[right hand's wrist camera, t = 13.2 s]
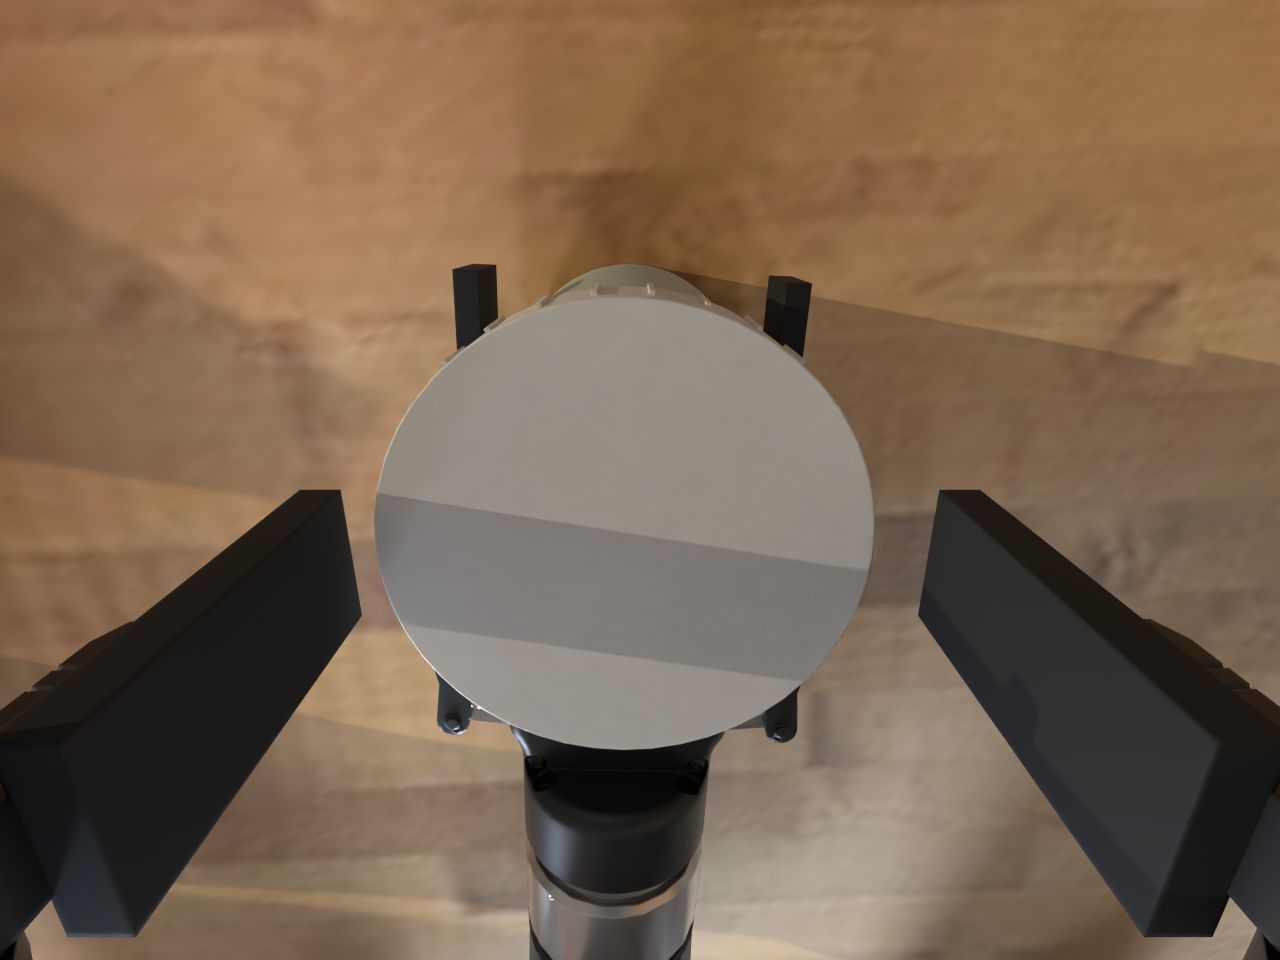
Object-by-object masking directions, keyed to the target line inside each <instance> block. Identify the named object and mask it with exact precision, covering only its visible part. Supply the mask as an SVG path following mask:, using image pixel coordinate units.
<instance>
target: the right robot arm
mask: <svg viewBox="0 0 1280 960" xmlns="http://www.w3.org/2000/svg"><path fill="white" fill-rule="evenodd" d="M361 616H362V613H361V607H360V601H359V595H358V590H357V584H356V578H355V572H354V566H353V560H352V554H351V548H350V543H349V537H348V531H347V525H346V519H345V513H344V507H343V501H342V496H341V490H299V491H298V492H297V493H295V494H294V495H293V496H292V497H290V498H289V499H288V500H287V501H285V502H284V503H283V504H282V505H280V506H279V507H278V508H277V509H275V510H274V511H273V512H272V513H270V514H269V515H268V516H266V517H265V518H264V519H263V520H261V521H260V522H259V523H258V524H256V525H255V526H254V527H253V528H251V529H250V530H249V531H248V532H246V533H245V534H244V535H243V536H241V537H240V538H239V539H237V540H236V541H235V542H234V543H232V544H231V545H230V546H229V547H227V548H226V549H225V550H224V551H222V552H221V553H220V554H219V555H217V556H216V557H215V558H214V559H212V560H211V561H210V562H209V563H207V564H206V565H205V566H203V567H202V568H201V569H200V570H198V571H197V572H196V573H195V574H193V575H192V576H191V577H190V578H188V579H187V580H186V581H185V582H183V583H182V584H181V585H180V586H178V587H177V588H176V589H175V590H173V591H172V592H171V593H169V594H168V595H167V596H166V597H164V598H163V599H162V600H161V601H159V602H158V603H157V604H156V605H154V606H153V607H152V608H151V609H149V610H148V611H147V612H146V613H144V614H143V615H142V616H141V617H139V618H138V619H137V620H135V621H134V622H129V623H127V624H125V625H123V626H121V627H119V628H117V629H115V630H113V631H111V632H109V633H107V634H105V635H103V636H101V637H99V638H97V639H95V640H93V641H91V642H89V643H88V644H86V645H85V646H84V647H83V648H81V649H80V650H79V651H77V652H76V653H75V654H73V655H72V656H71V657H70V658H68V659H67V660H66V661H64V662H63V663H62V664H60V665H59V666H58V670H57V671H51V672H50V673H49V674H47V675H46V676H45V677H43V678H42V679H41V680H40V681H38V682H37V683H36V684H34V685H33V686H32V690H31V691H30V692H24V693H23V694H21V695H20V696H19V697H17V698H16V699H15V700H13V701H12V702H11V703H10V704H8V705H7V706H6V707H4V708H3V709H2V710H0V960H32V954H31V948H30V943H29V941H28V939H27V937H26V935H25V933H24V930H25V929H26V928H27V927H28V925H29V924H30V923H31V922H32V921H33V920H34V919H35V917H36V916H37V915H38V914H39V913H40V912H41V910H42V909H43V908H44V907H45V906H46V905H47V904H48V902H49V901H50V900H52V902H53V904H54V907H55V909H56V911H57V914H58V916H59V918H60V920H61V923H62V925H63V927H64V930H65V932H66V934H67V937H136V936H137V935H138V933H139V932H140V930H141V929H142V928H143V926H144V925H145V923H146V922H147V920H148V919H149V918H150V916H151V915H152V913H153V912H154V910H155V909H156V908H157V906H158V905H159V903H160V902H161V900H162V899H163V898H164V896H165V895H166V893H167V892H168V891H169V889H170V888H171V886H172V885H173V883H174V882H175V881H176V879H177V878H178V876H179V875H180V873H181V872H182V871H183V869H184V868H185V866H186V865H187V864H188V862H189V861H190V859H191V858H192V856H193V855H194V854H195V852H196V851H197V849H198V848H199V846H200V845H201V844H202V842H203V841H204V839H205V838H206V836H207V835H208V834H209V832H210V831H211V829H212V828H213V827H214V825H215V824H216V822H217V821H218V819H219V818H220V817H221V815H222V814H223V812H224V811H225V809H226V808H227V807H228V805H229V804H230V802H231V801H232V800H233V798H234V797H235V795H236V794H237V792H238V791H239V790H240V788H241V787H242V785H243V784H244V782H245V781H246V780H247V778H248V777H249V775H250V774H251V772H252V771H253V770H254V768H255V767H256V765H257V764H258V763H259V761H260V760H261V758H262V757H263V755H264V754H265V753H266V751H267V750H268V748H269V747H270V745H271V744H272V743H273V741H274V740H275V738H276V737H277V736H278V734H279V733H280V731H281V730H282V728H283V727H284V726H285V724H286V723H287V721H288V720H289V718H290V717H291V716H292V714H293V713H294V711H295V710H296V708H297V707H298V706H299V704H300V703H301V701H302V700H303V699H304V697H305V696H306V694H307V693H308V691H309V690H310V689H311V687H312V686H313V684H314V683H315V681H316V680H317V679H318V677H319V676H320V674H321V673H322V672H323V670H324V669H325V667H326V666H327V664H328V663H329V662H330V660H331V659H332V657H333V656H334V654H335V653H336V652H337V650H338V649H339V647H340V646H341V644H342V643H343V642H344V640H345V639H346V637H347V636H348V635H349V633H350V632H351V630H352V629H353V627H354V626H355V625H356V623H357V622H358V620H359V619H360V617H361ZM918 616H919V617H920V619H921V620H922V622H923V623H924V625H925V626H926V627H927V629H928V630H929V632H930V633H931V635H932V636H933V637H934V639H935V640H936V642H937V643H938V644H939V646H940V647H941V649H942V650H943V652H944V653H945V654H946V656H947V657H948V659H949V660H950V662H951V663H952V664H953V666H954V667H955V669H956V670H957V672H958V673H959V674H960V676H961V677H962V679H963V680H964V681H965V683H966V684H967V686H968V687H969V689H970V690H971V691H972V693H973V694H974V696H975V697H976V699H977V700H978V701H979V703H980V704H981V706H982V707H983V708H984V710H985V711H986V713H987V714H988V716H989V717H990V718H991V720H992V721H993V723H994V724H995V726H996V727H997V728H998V730H999V731H1000V733H1001V734H1002V736H1003V737H1004V738H1005V740H1006V741H1007V743H1008V744H1009V745H1010V747H1011V748H1012V750H1013V751H1014V753H1015V754H1016V755H1017V757H1018V758H1019V760H1020V761H1021V763H1022V764H1023V765H1024V767H1025V768H1026V770H1027V771H1028V772H1029V774H1030V775H1031V777H1032V778H1033V780H1034V781H1035V782H1036V784H1037V785H1038V787H1039V788H1040V790H1041V791H1042V792H1043V794H1044V795H1045V797H1046V798H1047V800H1048V801H1049V802H1050V804H1051V805H1052V807H1053V808H1054V809H1055V811H1056V812H1057V814H1058V815H1059V817H1060V818H1061V819H1062V821H1063V822H1064V824H1065V825H1066V827H1067V828H1068V829H1069V831H1070V832H1071V834H1072V835H1073V836H1074V838H1075V839H1076V841H1077V842H1078V844H1079V845H1080V846H1081V848H1082V849H1083V851H1084V852H1085V854H1086V855H1087V856H1088V858H1089V859H1090V861H1091V862H1092V864H1093V865H1094V866H1095V868H1096V869H1097V871H1098V872H1099V873H1100V875H1101V876H1102V878H1103V879H1104V881H1105V882H1106V883H1107V885H1108V886H1109V888H1110V889H1111V891H1112V892H1113V893H1114V895H1115V896H1116V898H1117V899H1118V900H1119V902H1120V903H1121V905H1122V906H1123V908H1124V909H1125V910H1126V912H1127V913H1128V915H1129V916H1130V918H1131V919H1132V920H1133V922H1134V923H1135V925H1136V926H1137V928H1138V929H1139V930H1140V932H1141V933H1142V935H1143V936H1144V937H1213V934H1214V932H1215V930H1216V927H1217V925H1218V923H1219V920H1220V918H1221V916H1222V914H1223V911H1224V909H1225V907H1226V904H1227V902H1228V900H1229V898H1230V897H1231V898H1232V899H1233V901H1234V902H1235V903H1236V904H1237V905H1238V906H1239V907H1240V909H1241V910H1242V911H1243V912H1244V913H1245V914H1246V916H1247V917H1248V918H1249V919H1250V920H1251V921H1252V922H1253V924H1254V925H1255V926H1256V927H1257V930H1256V933H1255V935H1254V937H1253V939H1252V941H1251V943H1250V945H1249V947H1248V950H1247V952H1246V954H1245V956H1244V958H1243V960H1280V707H1279V706H1278V705H1277V704H1275V703H1274V702H1273V701H1271V700H1270V699H1269V698H1267V697H1266V696H1265V695H1263V694H1262V693H1261V692H1259V691H1258V690H1257V689H1250V687H1249V683H1248V682H1246V681H1245V680H1244V679H1242V678H1241V677H1240V676H1238V675H1237V674H1236V673H1235V672H1233V671H1232V670H1231V669H1229V668H1223V666H1222V665H1223V663H1221V662H1220V661H1219V660H1217V659H1216V658H1215V657H1213V656H1212V655H1211V654H1210V653H1208V652H1207V651H1206V650H1204V649H1203V648H1202V647H1200V646H1199V645H1198V644H1196V643H1195V642H1194V641H1192V640H1191V639H1189V638H1187V637H1185V636H1183V635H1181V634H1179V633H1177V632H1175V631H1173V630H1171V629H1169V628H1167V627H1165V626H1163V625H1161V624H1159V623H1157V622H1155V621H1153V620H1151V619H1142V618H1141V617H1139V616H1138V615H1137V614H1136V613H1134V612H1133V611H1132V610H1131V609H1129V608H1128V607H1127V606H1126V605H1124V604H1123V603H1122V602H1121V601H1119V600H1118V599H1117V598H1116V597H1114V596H1113V595H1112V594H1111V593H1109V592H1108V591H1107V590H1105V589H1104V588H1103V587H1102V586H1100V585H1099V584H1098V583H1097V582H1095V581H1094V580H1093V579H1092V578H1090V577H1089V576H1088V575H1087V574H1085V573H1084V572H1083V571H1082V570H1080V569H1079V568H1078V567H1077V566H1075V565H1074V564H1073V563H1071V562H1070V561H1069V560H1068V559H1066V558H1065V557H1064V556H1063V555H1061V554H1060V553H1059V552H1058V551H1056V550H1055V549H1054V548H1053V547H1051V546H1050V545H1049V544H1048V543H1046V542H1045V541H1044V540H1043V539H1041V538H1040V537H1039V536H1037V535H1036V534H1035V533H1034V532H1032V531H1031V530H1030V529H1029V528H1027V527H1026V526H1025V525H1024V524H1022V523H1021V522H1020V521H1019V520H1017V519H1016V518H1015V517H1014V516H1012V515H1011V514H1010V513H1008V512H1007V511H1006V510H1005V509H1003V508H1002V507H1001V506H1000V505H998V504H997V503H996V502H995V501H993V500H992V499H991V498H990V497H988V496H987V495H986V494H985V493H983V492H982V491H981V490H939V496H938V501H937V507H936V513H935V519H934V525H933V531H932V537H931V543H930V548H929V554H928V560H927V566H926V572H925V578H924V584H923V590H922V595H921V601H920V607H919V613H918Z"/></svg>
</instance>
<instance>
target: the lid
mask: <svg viewBox="0 0 1280 960" xmlns="http://www.w3.org/2000/svg"><path fill="white" fill-rule="evenodd" d="M762 330H763V327H762V326H760V325H759V324H758V323H757V322H755V321H754V320H753V319H752V318H751V317H749V316H748V315H745V316H744V318H742V317H740V316H738V315H737V314H735V313H733V312H731V311H729V310H727V309H726V308H724V307H721V306H719V305H716V304H714V303H711V302H710V301H709V300H708V299H707V298H706V297H705V296H704V295H702V294H698V297H695V296H692V295H687V294H683V293H679V292H674V291H670V290H666V289H659V288H654V285H653V283H648V285H647V287H637V286H618V287H601V283H597V284H595V285H594V287H593V288H592V289H587V290H582V291H576V292H571V293H566V294H563V295H560V296H557V297H554V298H551V297H550V294H548V295H546V296H544V297H543V298H542V299H541V300H539V301H538V302H537V303H536V304H534V305H532V306H530V307H528V308H526V309H524V310H522V311H520V312H518V313H516V314H514V315H512V316H510V317H508V318H506V319H505V318H504V316H501V317H500V318H498V319H497V320H496V321H494V322H493V323H491V324H490V325H489V326H487V327H486V328H485V329H484V331H485V333H484V334H483V335H482V336H480V337H479V338H478V339H476V340H475V341H474V342H472V343H471V344H470V345H469V346H467V347H466V348H465V347H464V346H463V347H461V348H460V349H459V350H457V351H456V352H455V353H453V354H452V355H451V356H449V357H448V358H447V359H445V360H444V361H443V362H442V363H441V365H442V366H443V368H442V369H441V370H440V371H439V372H437V373H436V374H435V375H434V376H433V378H432V379H431V380H430V381H429V383H428V384H427V385H426V386H425V387H424V389H423V390H422V391H421V392H420V394H419V395H418V396H417V397H416V398H414V399H413V400H412V401H411V402H410V404H409V406H410V408H409V409H408V411H407V413H406V414H405V416H404V418H403V419H402V421H401V423H400V424H399V426H398V428H397V429H396V432H395V434H394V437H393V439H392V442H391V444H390V446H389V449H388V451H387V454H386V456H385V459H384V463H383V467H382V471H381V475H380V479H379V483H378V487H377V496H376V507H375V518H374V520H375V538H376V551H377V556H378V561H379V566H380V571H381V576H382V579H383V582H384V585H385V588H386V591H387V594H388V596H389V599H390V602H391V605H392V607H393V609H394V611H395V613H396V615H397V617H398V619H399V621H400V623H401V625H402V626H403V628H404V630H405V632H406V633H407V635H408V636H409V638H410V639H411V641H412V642H413V644H414V645H415V646H416V648H417V649H418V651H419V652H420V654H421V655H422V656H423V657H424V658H425V659H426V661H427V662H428V663H429V664H430V665H431V666H432V667H433V668H434V670H435V671H436V672H437V673H438V674H439V675H440V676H441V677H442V678H443V679H444V680H445V681H447V682H448V683H449V684H450V685H451V686H452V687H453V688H455V689H456V690H457V691H458V692H459V693H460V694H461V695H463V696H464V697H466V698H467V699H469V700H470V701H471V702H473V703H474V704H476V705H477V706H479V707H480V708H482V709H483V710H485V711H486V712H488V713H490V714H492V715H494V716H495V717H497V718H499V719H501V720H503V721H505V722H507V723H509V724H511V725H513V726H515V727H518V728H520V729H523V730H525V731H528V732H530V733H533V734H535V735H538V736H542V737H545V738H549V739H552V740H556V741H560V742H563V743H567V744H573V745H579V746H585V747H591V748H603V749H619V750H628V749H652V748H658V747H665V746H672V745H679V744H683V743H687V742H691V741H695V740H699V739H703V738H706V737H709V736H712V735H715V734H717V733H720V732H723V731H726V730H728V729H731V728H734V727H736V726H738V725H740V724H742V723H744V722H746V721H748V720H750V719H752V718H754V717H756V716H758V715H760V714H761V713H763V712H764V711H766V710H767V709H769V708H770V707H772V706H773V705H775V704H776V703H778V702H779V701H781V700H783V699H784V698H785V697H786V696H788V695H789V694H790V693H791V692H792V691H794V690H795V689H796V688H797V687H798V686H800V685H801V684H802V683H803V682H804V681H806V679H807V678H808V677H809V676H810V675H811V674H812V673H813V672H814V671H815V670H816V669H817V668H818V667H819V666H820V665H821V664H822V663H823V661H824V660H825V659H826V658H827V656H828V655H829V654H830V652H831V651H832V650H833V648H834V647H835V646H836V644H837V643H838V641H839V640H840V639H841V637H842V636H843V634H844V632H845V630H846V628H847V627H848V625H849V623H850V621H851V619H852V617H853V616H854V614H855V612H856V609H857V607H858V604H859V602H860V599H861V597H862V594H863V591H864V589H865V586H866V583H867V578H868V574H869V570H870V566H871V561H872V557H873V547H874V536H875V512H874V496H873V491H872V486H871V481H870V477H869V472H868V467H867V464H866V461H865V459H864V456H863V453H862V451H861V447H860V444H859V442H858V440H857V437H856V435H855V433H854V432H853V430H852V428H851V426H850V424H849V422H848V421H847V419H846V417H845V415H844V413H843V411H842V410H841V408H840V407H839V405H838V403H839V401H838V400H837V398H836V397H834V396H833V395H832V394H831V393H830V392H829V391H827V390H826V388H825V387H824V386H823V384H822V383H821V382H820V381H819V380H818V379H817V378H816V377H815V376H814V375H813V374H812V373H811V372H810V371H809V370H808V369H807V368H806V367H805V366H804V364H805V363H806V361H805V360H804V359H803V358H802V357H801V356H800V355H798V354H797V353H796V352H795V351H793V350H792V349H791V348H790V347H788V346H787V345H786V344H785V345H784V346H783V347H782V346H781V345H780V344H779V343H778V342H776V341H775V340H774V339H773V338H771V337H770V336H769V335H767V334H766V333H765V332H763V331H762Z"/></svg>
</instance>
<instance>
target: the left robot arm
mask: <svg viewBox="0 0 1280 960" xmlns="http://www.w3.org/2000/svg"><path fill="white" fill-rule="evenodd" d="M453 287H454V304H455V321H456V339H457V350H459V349H460V348H461V347H463V346H464V347H465V348H466V347H467V346H469V345H470V344H471V343H472V342H474V341H475V340H476V339H478V338H479V337H480V336H482V335H483V334H484V333H485V331H484V329H485V328H486V327H487V326H489V325H490V324H491V323H493V322H494V321H496V320H497V319H498V305H497V277H496V265H487V264H471V265H467V266H463V267H460V268H456V269H453ZM811 287H812V283H809V282H806V281H803V280H800V279H797V278H794V277H790V276H769V281H768V290H767V300H766V310H765V319H764V329H763V332H765V333H766V334H767V335H769V336H770V337H771V338H773V339H774V340H775V341H776V342H778V343H779V344H780V345H781V346H782V347H783V346H784V345H785V344H786V345H787V346H788V347H790V348H791V349H792V350H793V351H795V352H796V353H797V354H798V355H800V356H801V357H802V358H803V351H804V343H805V335H806V327H807V319H808V311H809V303H810V295H811ZM435 672H436V671H435ZM436 675H437V678H438V681H439V684H440V685H439V700H438V714H437V722H438V726H439V727H440V729H441V730H442V731H444V732H445V733H448V734H452V735H456V734H461V733H463V732H465V731H466V730H467V729H468V726H469V723H470V720H478V721H487V722H495V723H503V724H509V723H507V722H505V721H503V720H501V719H499V718H497V717H495V716H494V715H492V714H490V713H488V712H486V711H485V710H483V709H482V708H480V707H479V706H477V705H476V704H474V703H473V702H471V701H470V700H469V699H467V698H466V697H464V696H463V695H461V694H460V693H459V692H458V691H457V690H456V689H455V688H453V687H452V686H451V685H450V684H449V683H448V682H447V681H445V680H444V679H443V678H442V677H441V676H440V675H439V674H438V673H437V672H436ZM799 688H800V686H798V687H797V688H796V689H795V690H794V691H792V692H791V693H790V694H789V695H788V696H786V697H785V698H784V699H783V700H781V701H779V702H778V703H776V704H775V705H773V706H772V707H770V708H769V709H767V710H766V711H764V712H763V713H761V714H760V715H758V716H756V717H754V718H752V719H750V720H748V721H746V722H744V723H742V724H740V725H738V726H736V727H734V728H731V729H728V730H732V729H746V728H759V727H765V731H766V735H767V737H768V738H769V739H770V740H771V741H774V742H777V743H783V742H787V741H789V740H791V739H792V738H793V737H794V736H795V735H796V732H797V692H798V690H799ZM509 725H510V728H511V731H512V733H513V734H514V736H515V737H516V738H517V740H518V741H519V743H520V745H521V747H522V749H523V755H524V786H525V820H526V831H527V837H526V857H527V880H528V903H529V905H528V911H529V924H530V960H690V956H691V937H692V928H693V921H694V912H695V906H696V899H697V889H698V879H699V869H700V859H701V836H702V832H703V824H704V813H705V803H706V793H707V783H708V772H709V762H710V756H711V753H712V751H713V749H714V747H715V746H716V745H717V743H718V742H719V741H720V740H721V739H722V737H723V735H724V733H725V731H723V732H720V733H717V734H715V735H712V736H709V737H706V738H703V739H699V740H695V741H691V742H687V743H683V744H679V745H672V746H665V747H658V748H652V749H628V750H619V749H603V748H591V747H585V746H579V745H573V744H567V743H563V742H560V741H556V740H552V739H549V738H545V737H542V736H538V735H535V734H533V733H530V732H528V731H525V730H523V729H520V728H518V727H515V726H513V725H511V724H509Z"/></svg>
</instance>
